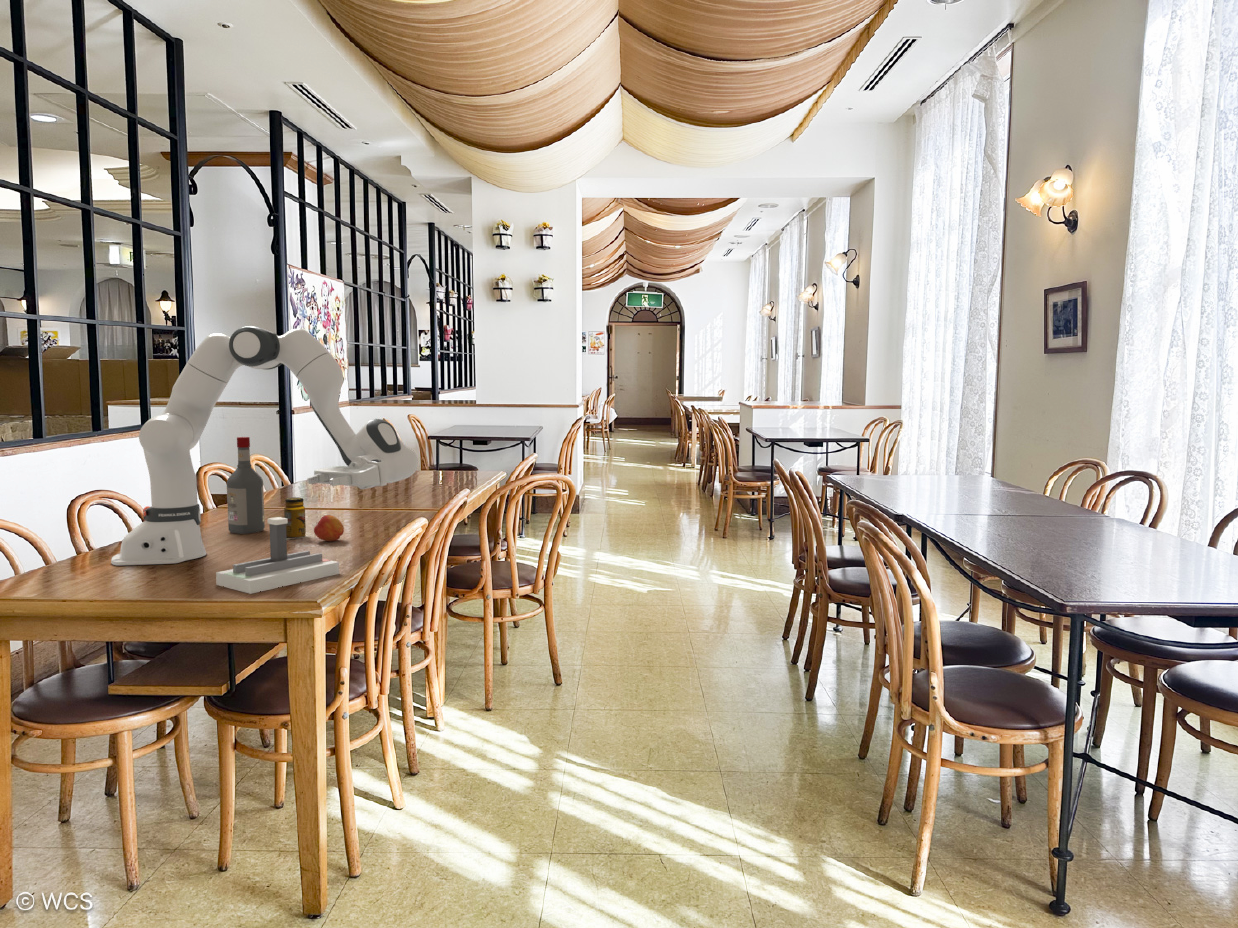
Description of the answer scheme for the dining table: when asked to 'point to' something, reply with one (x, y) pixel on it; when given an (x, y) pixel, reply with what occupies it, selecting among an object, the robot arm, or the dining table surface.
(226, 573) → the box
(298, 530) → the condiment
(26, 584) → the dining table surface
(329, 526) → the fruit
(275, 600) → the dining table surface
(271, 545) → the handle
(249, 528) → the liquor
